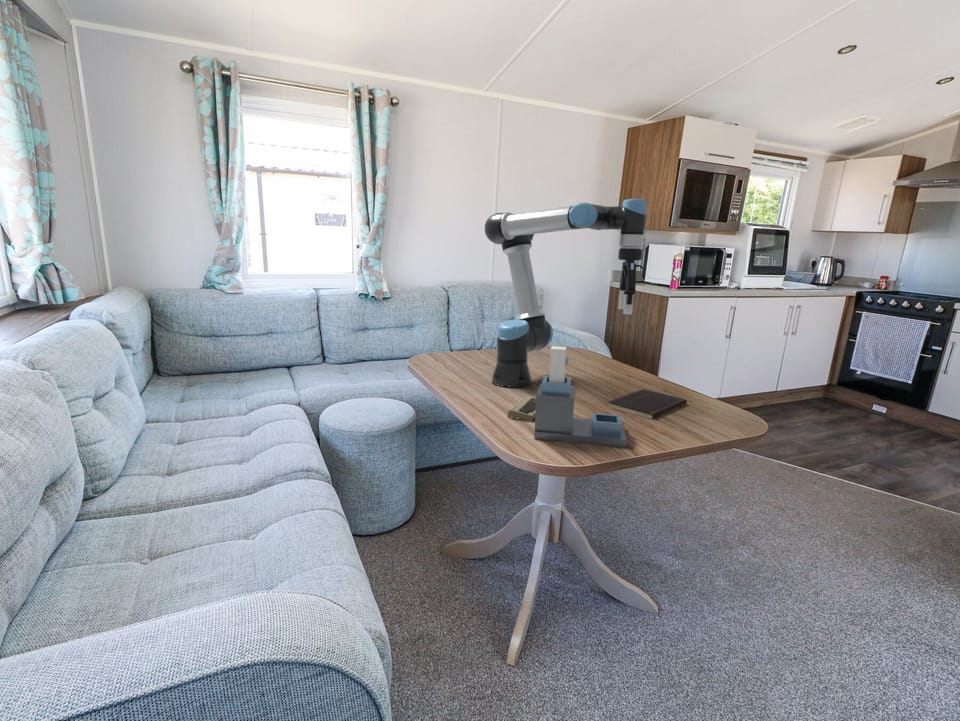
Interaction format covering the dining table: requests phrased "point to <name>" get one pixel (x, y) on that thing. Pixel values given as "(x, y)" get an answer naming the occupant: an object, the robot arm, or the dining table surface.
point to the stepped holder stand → (559, 421)
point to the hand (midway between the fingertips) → (624, 311)
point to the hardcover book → (647, 403)
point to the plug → (557, 364)
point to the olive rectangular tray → (524, 409)
